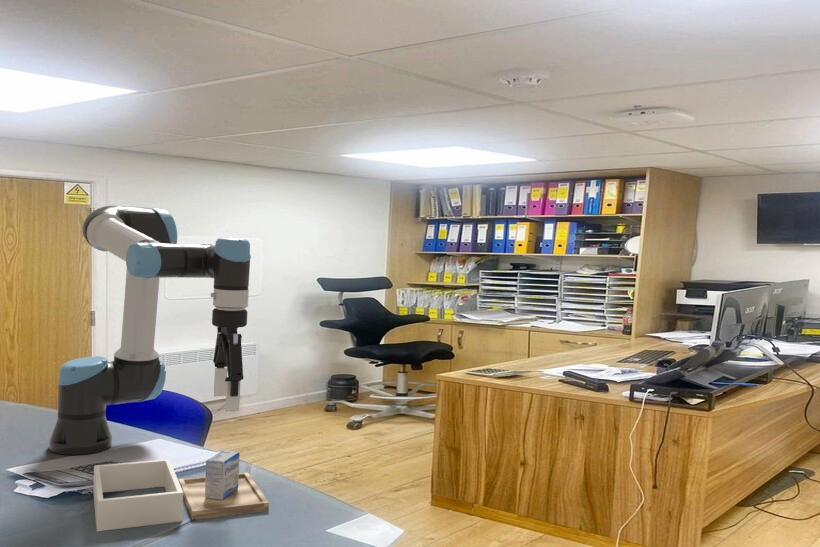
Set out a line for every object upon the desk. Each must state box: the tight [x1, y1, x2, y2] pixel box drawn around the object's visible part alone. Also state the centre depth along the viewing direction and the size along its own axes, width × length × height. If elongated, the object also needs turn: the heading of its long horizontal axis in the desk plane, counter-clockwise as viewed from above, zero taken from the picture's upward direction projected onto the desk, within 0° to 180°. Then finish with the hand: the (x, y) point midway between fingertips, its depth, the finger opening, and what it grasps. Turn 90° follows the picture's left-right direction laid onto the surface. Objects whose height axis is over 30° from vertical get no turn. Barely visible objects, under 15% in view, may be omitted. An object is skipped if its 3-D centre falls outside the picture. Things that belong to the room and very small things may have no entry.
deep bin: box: [92, 458, 184, 532], centre depth 151 cm, size 22×16×6 cm
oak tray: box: [178, 472, 270, 521], centre depth 158 cm, size 20×16×2 cm
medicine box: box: [204, 450, 240, 500], centre depth 158 cm, size 8×4×9 cm, turn 168°
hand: (225, 403), depth 157 cm, fingers open, 13 cm apart
